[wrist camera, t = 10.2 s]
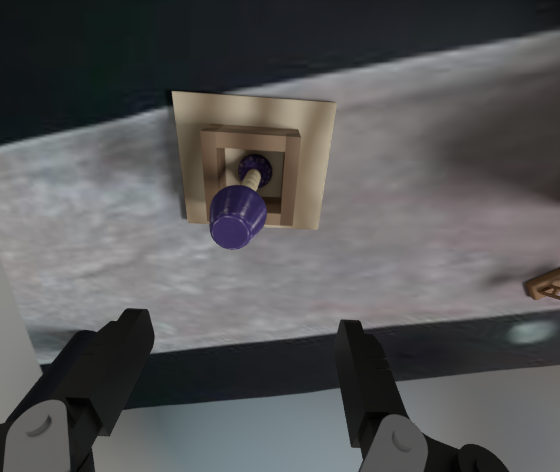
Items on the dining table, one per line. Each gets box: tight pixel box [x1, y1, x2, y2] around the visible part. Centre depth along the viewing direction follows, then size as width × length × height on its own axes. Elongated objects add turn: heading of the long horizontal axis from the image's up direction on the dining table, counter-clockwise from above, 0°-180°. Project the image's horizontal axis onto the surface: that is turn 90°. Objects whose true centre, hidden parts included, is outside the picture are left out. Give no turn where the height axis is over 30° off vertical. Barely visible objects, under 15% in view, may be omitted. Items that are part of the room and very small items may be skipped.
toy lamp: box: [209, 154, 272, 250], centre depth 26 cm, size 5×5×17 cm
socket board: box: [172, 91, 337, 230], centre depth 32 cm, size 18×16×6 cm
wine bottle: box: [5, 330, 97, 423], centre depth 38 cm, size 6×6×30 cm
